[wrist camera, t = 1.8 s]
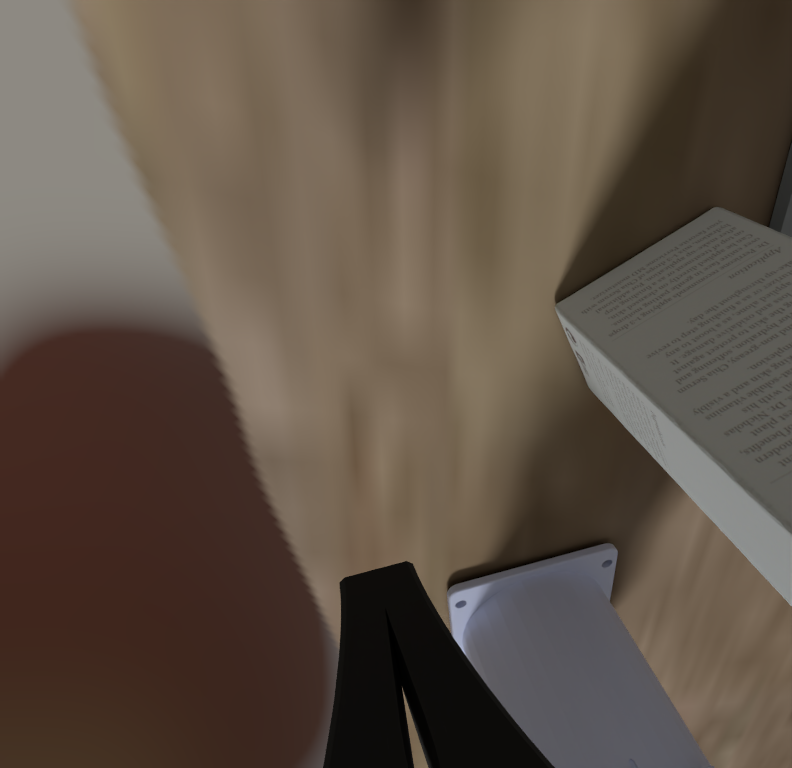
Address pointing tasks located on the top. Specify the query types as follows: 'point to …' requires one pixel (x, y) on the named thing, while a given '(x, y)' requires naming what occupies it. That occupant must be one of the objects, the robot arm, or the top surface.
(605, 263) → the top surface
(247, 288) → the top surface
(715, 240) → the skincare box
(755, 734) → the top surface
